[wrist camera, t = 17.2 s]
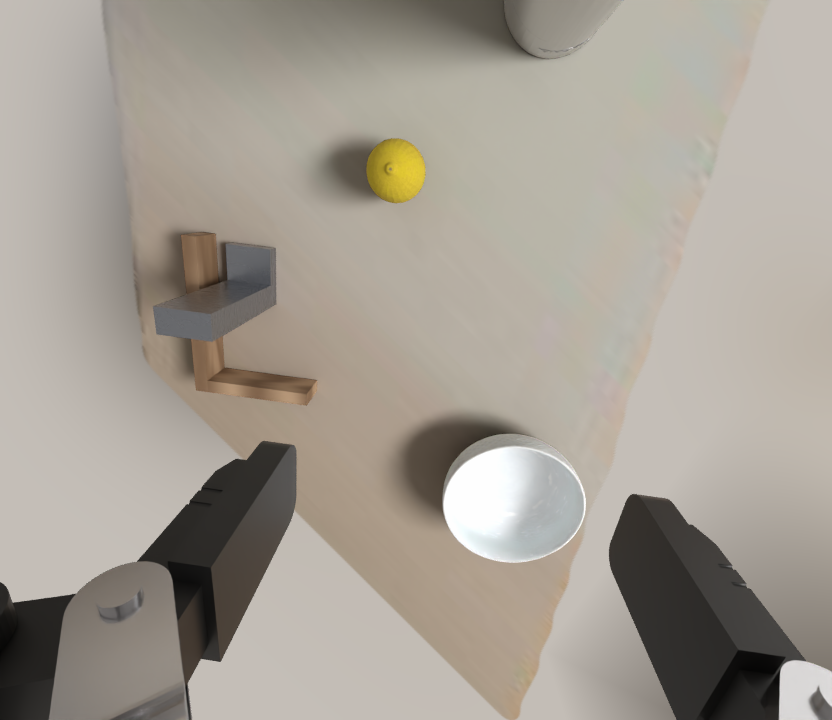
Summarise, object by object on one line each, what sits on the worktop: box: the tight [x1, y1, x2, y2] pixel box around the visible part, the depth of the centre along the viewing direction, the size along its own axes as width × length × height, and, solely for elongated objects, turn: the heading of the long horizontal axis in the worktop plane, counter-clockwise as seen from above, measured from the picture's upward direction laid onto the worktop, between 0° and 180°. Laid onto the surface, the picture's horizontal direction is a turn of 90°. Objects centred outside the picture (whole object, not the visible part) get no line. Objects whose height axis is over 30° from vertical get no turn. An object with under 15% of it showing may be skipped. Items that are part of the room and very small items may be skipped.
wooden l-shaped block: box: [181, 232, 317, 406], centre depth 47 cm, size 14×18×4 cm
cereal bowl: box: [442, 434, 586, 562], centre depth 51 cm, size 17×17×7 cm
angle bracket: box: [153, 243, 276, 342], centre depth 41 cm, size 5×6×14 cm
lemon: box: [366, 139, 425, 203], centre depth 39 cm, size 6×6×8 cm
